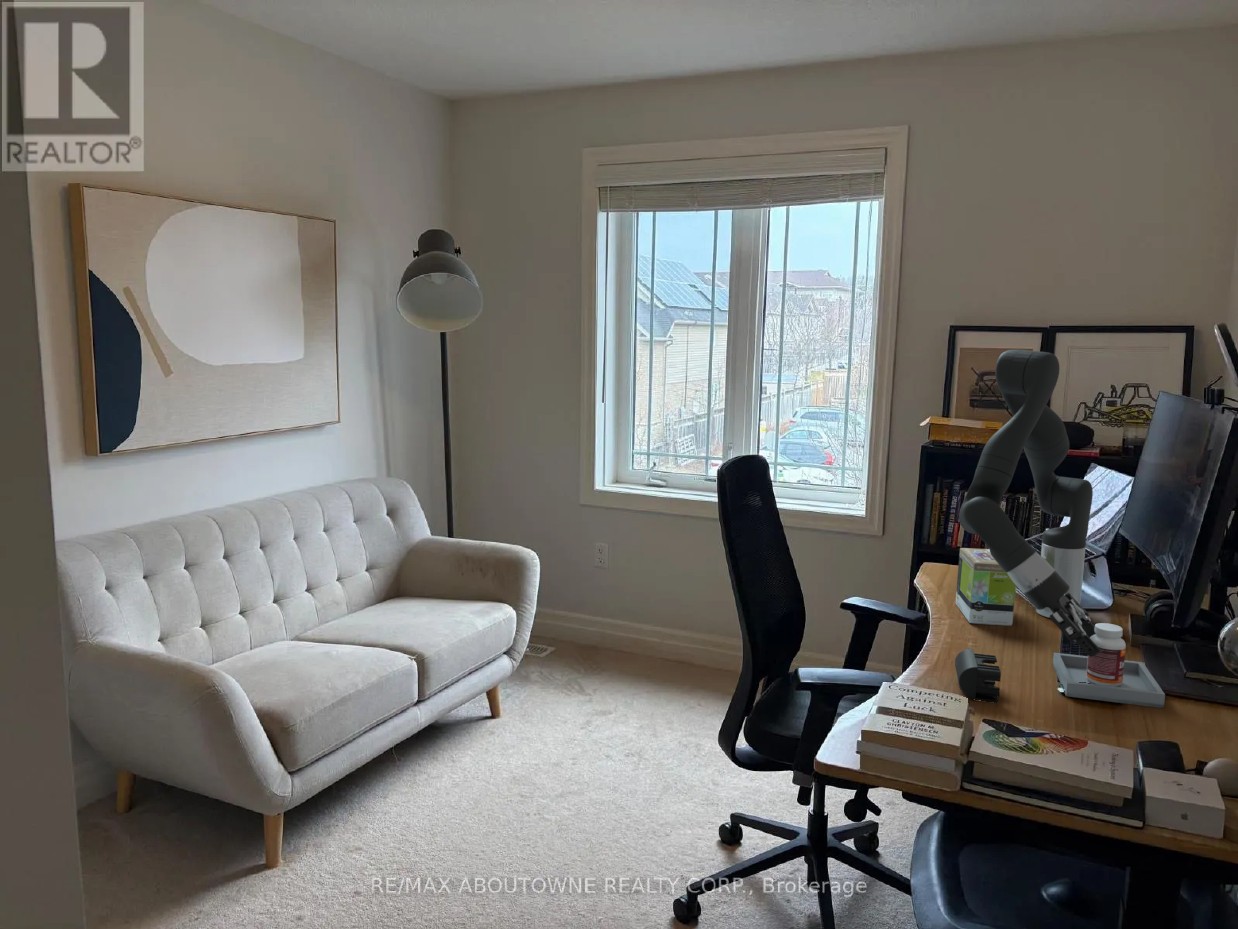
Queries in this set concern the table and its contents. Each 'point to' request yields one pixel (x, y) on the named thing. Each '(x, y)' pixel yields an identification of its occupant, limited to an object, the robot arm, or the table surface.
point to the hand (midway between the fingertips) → (1097, 647)
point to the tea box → (984, 589)
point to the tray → (1133, 689)
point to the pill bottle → (1107, 656)
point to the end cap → (978, 675)
